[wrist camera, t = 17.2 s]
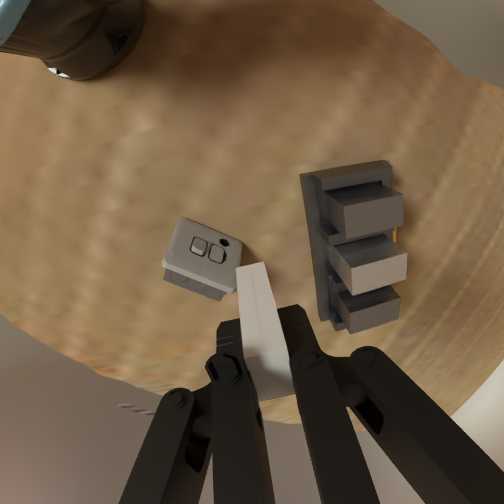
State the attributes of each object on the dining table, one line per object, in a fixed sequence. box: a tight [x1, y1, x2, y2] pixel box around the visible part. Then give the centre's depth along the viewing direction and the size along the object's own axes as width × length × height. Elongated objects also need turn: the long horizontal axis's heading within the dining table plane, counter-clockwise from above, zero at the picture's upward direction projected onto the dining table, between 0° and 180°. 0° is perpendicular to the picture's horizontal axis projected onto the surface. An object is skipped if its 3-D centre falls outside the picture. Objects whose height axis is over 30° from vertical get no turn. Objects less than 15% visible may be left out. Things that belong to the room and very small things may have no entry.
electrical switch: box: [162, 218, 242, 301], centre depth 37 cm, size 9×5×9 cm, turn 63°
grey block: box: [328, 233, 407, 296], centre depth 38 cm, size 4×8×9 cm, turn 102°
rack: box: [299, 160, 404, 334], centre depth 39 cm, size 24×14×9 cm, turn 12°
